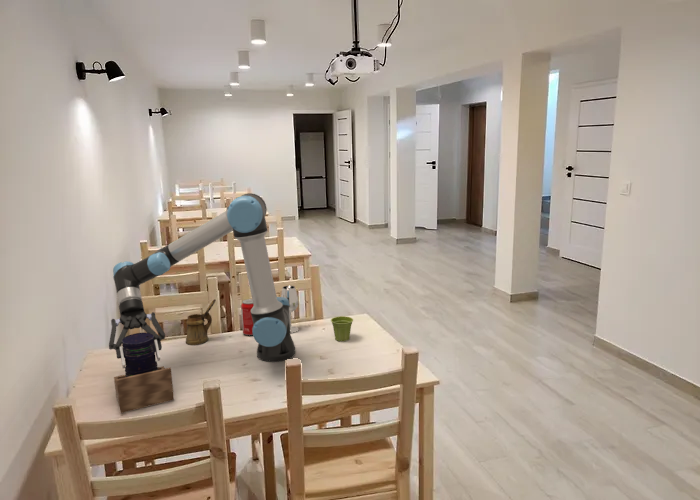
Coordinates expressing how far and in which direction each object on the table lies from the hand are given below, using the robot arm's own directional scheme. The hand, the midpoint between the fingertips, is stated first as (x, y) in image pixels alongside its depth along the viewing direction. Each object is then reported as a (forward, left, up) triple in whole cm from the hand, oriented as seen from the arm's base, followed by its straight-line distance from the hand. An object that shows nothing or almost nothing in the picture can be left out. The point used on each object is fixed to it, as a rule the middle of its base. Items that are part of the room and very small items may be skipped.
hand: (141, 362), depth 160 cm
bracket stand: (+2, -2, -13) cm, 13 cm away
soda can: (-13, -61, -13) cm, 64 cm away
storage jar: (+2, -2, -8) cm, 8 cm away
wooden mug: (+5, -50, -13) cm, 52 cm away
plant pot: (-54, -60, -13) cm, 82 cm away
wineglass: (-29, -67, -13) cm, 74 cm away
